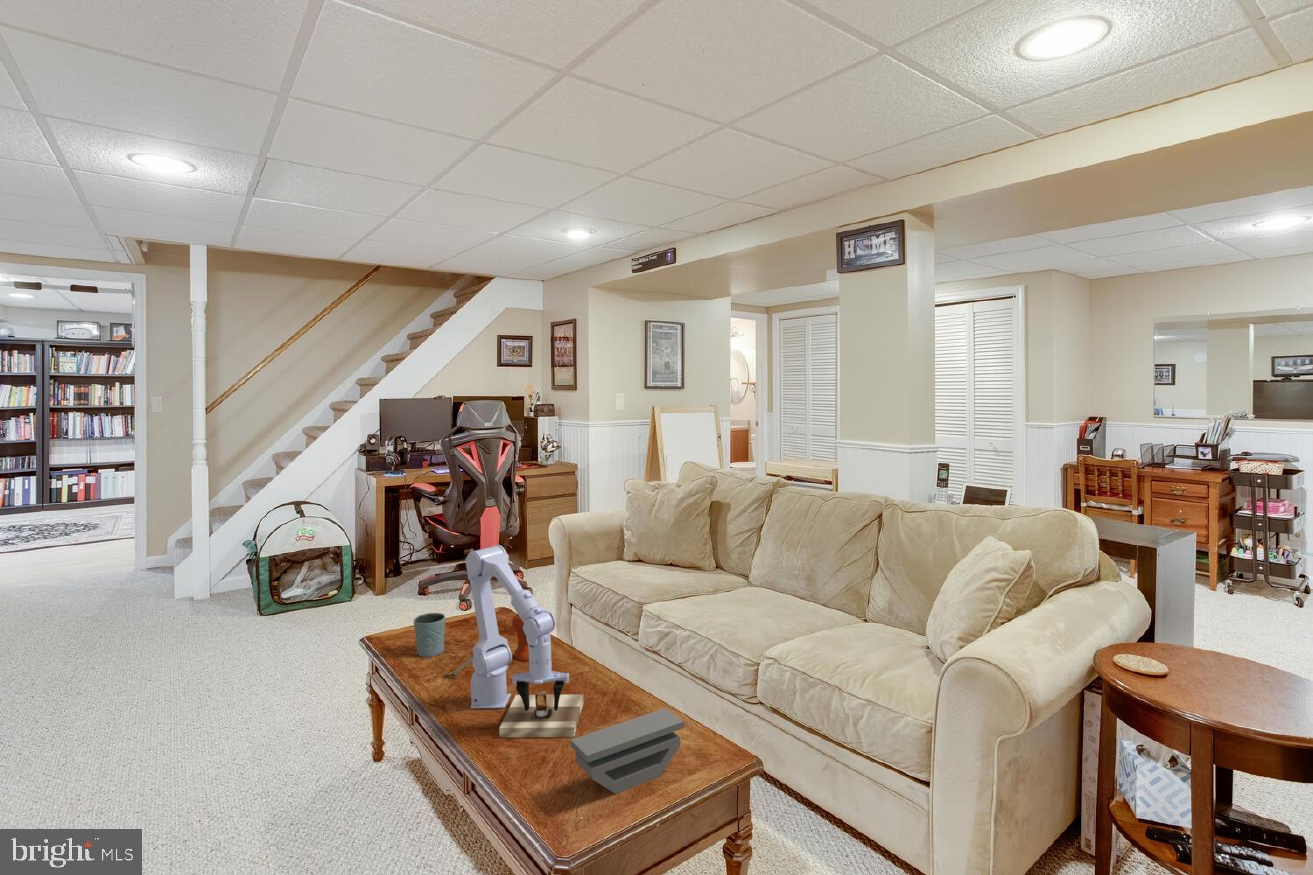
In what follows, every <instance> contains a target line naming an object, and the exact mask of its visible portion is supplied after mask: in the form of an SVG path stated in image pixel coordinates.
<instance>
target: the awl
mask: <svg viewBox="0 0 1313 875" xmlns="http://www.w3.org/2000/svg"><path fill="white" fill-rule="evenodd" d="M534 695H535V703H536V719H549V718H548V710H547V695H548V694H547V691H546V690H539V691H536V692H535V694H534Z"/></svg>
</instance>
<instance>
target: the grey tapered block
mask: <svg viewBox="0 0 1313 875" xmlns="http://www.w3.org/2000/svg"><path fill="white" fill-rule="evenodd" d="M684 728H685V722H684V720H683V719H681V718H680V717H678V716H677V715H676V714H675V713H673V712H671V710H669V709H667V708H660V709H659V710H656V711H651V712H649V713H646V714H642V715H640V716H637V717H634V718H631V719H628V720H625V721H622V722H619V723H616V724H613V725H610V726H607V727H604V728H601V729H599V730H595V731H592V732H590V733H586V734H584V735H581V736H578V737H573V738H571V739H570V748H572V749H573V750H574V752H575V763H576V764H577V765H578V766H579V767H580V768H581V769H582V770H583V771H584V772H585V773H586V775H588V776H589V778H590V779H591V780H593V781H595V782H596V783H597V784H599V785H601V786H602V787H604V788H605V789H607V790H609V791H610V792H612V793H613V794H615V795H618V794H621V793H623V792H626V791H628V790H630V789H633V788H635V787H637V786H641V785H642V784H645V783H647V782H650V781H652V780H655V779H657V778H660V777H661V776H662V775H663V773H664V771H665V770H666V769H667V767H668V765H669V764H670V762H671V761H672V760H673V758H674V756H675V754H676V753H677V751H678V750H679V749H680V747H681V736H680V735H679V734H677V733H676V731H678V730H679V731H680V730H682V729H684Z"/></svg>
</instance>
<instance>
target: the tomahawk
mask: <svg viewBox="0 0 1313 875" xmlns="http://www.w3.org/2000/svg"><path fill="white" fill-rule="evenodd" d="M472 661H473V655H471V656H469V658H467V659H466V660H465V661H464V662H463V663H462V664H461V665H460V666H458V667H457V668H456V669H455V670H453V671H452V673H451V674H448V673H447V674H444V675H443V678H444V677H446V678H445V679H450V678H451V679H452V680H457V679H456V678H457V676H458V675H459V672H461V671H462V670H463V669H464V668H465V667H466V666H468V665H469V664H470V663H471V662H472ZM448 676H449V677H448ZM451 679H450V680H451Z"/></svg>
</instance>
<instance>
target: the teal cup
mask: <svg viewBox="0 0 1313 875" xmlns="http://www.w3.org/2000/svg"><path fill="white" fill-rule="evenodd" d="M445 623H446V615H445V614H443V613H440V612H430V613H423V614H419V615H418V616H416V617H415V618H414V619H413V627H414V632H415V633H414V635H415V642H416V654H417V656H418V655H419V657H420V656H423V657H422V658H432V656H433V657H436V655H437V656H439V655H438V654H440V655H442V654H443V653H444V651H445V626H446V624H445Z"/></svg>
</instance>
